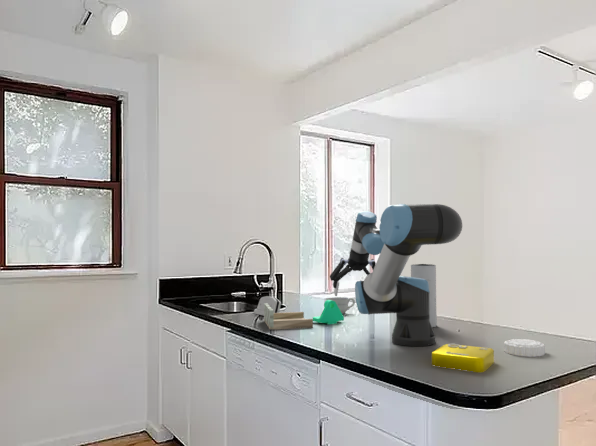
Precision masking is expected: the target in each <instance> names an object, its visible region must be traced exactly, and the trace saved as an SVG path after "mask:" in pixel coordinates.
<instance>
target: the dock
mask: <svg viewBox="0 0 596 446" xmlns="http://www.w3.org/2000/svg"><path fill="white" fill-rule="evenodd" d="M263 318H264V320H263V321H264V323H265V324H266V326H267V327H268V329H269V330H270V331H271V330H291V329H292V330H294V329H311V328H313V329H314V327H313V326H314V324H313V323H314V321H313V318H305V313H304V311H293V312H292V311H290V312H279V313H273V309H272V308H271V307H270V306H269V305H268V304H267V303H265V304H264V317H263Z"/></svg>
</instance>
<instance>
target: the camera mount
mask: <svg viewBox="0 0 596 446" xmlns="http://www.w3.org/2000/svg"><path fill="white" fill-rule="evenodd" d="M323 306H324V307H323V310H322V312H321V314H320V315H319V316H318V315H317V316H312V319H313V322H315V323H319V324H326V325H333V324H338V322H342V321H344V320H345V317H344V315H343V314H342V313H341V311H340V309H339V307H338V306H337V304H336V302H335V301H332V300H327V299H326V300H325V301H324V304H323Z"/></svg>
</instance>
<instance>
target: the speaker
mask: <svg viewBox="0 0 596 446" xmlns="http://www.w3.org/2000/svg"><path fill="white" fill-rule="evenodd" d="M410 277H414V278H421V279H425V280H427V281H428V283H429V291H430V293H429V307H430V323H431V326H432V328H436V327H437V326H438V325H437V324H438V323H437V322H438V320H437V319H438V318H437V317H438V316H437V265H436V264H433V263H432V264H431V263H430V264H429V263H428V264H426V263H417V264H416V263H415V264H410Z"/></svg>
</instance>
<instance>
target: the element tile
mask: <svg viewBox="0 0 596 446" xmlns="http://www.w3.org/2000/svg"><path fill="white" fill-rule="evenodd" d="M494 352H495V351H494V349H493V348H490V347H483V346H473V345H464V344H458V343H446V344H443V345H442V346H440V347H438V348H436V349H434V350H432V351H431V355H430V356H431V366H432V365H435V366H440V367H446V368H445V369H447V368H455V369H461V370H460V371H462V370H467V371H466V372H470V371H473V372H472V373H484V372H486V371H487V370H488V369H490V367H491V366H492V365H494V364H495V353H494ZM440 367H439V368H440ZM455 369H454V370H455Z"/></svg>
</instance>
